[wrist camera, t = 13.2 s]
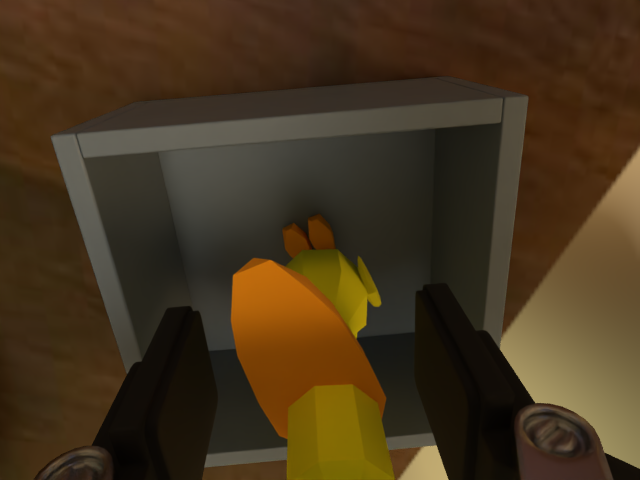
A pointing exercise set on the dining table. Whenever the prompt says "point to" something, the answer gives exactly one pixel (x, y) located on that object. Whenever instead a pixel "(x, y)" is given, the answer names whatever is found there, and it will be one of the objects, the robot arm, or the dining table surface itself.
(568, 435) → the robot arm
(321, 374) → the toy figure
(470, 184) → the grey bin
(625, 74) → the dining table surface
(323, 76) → the dining table surface
